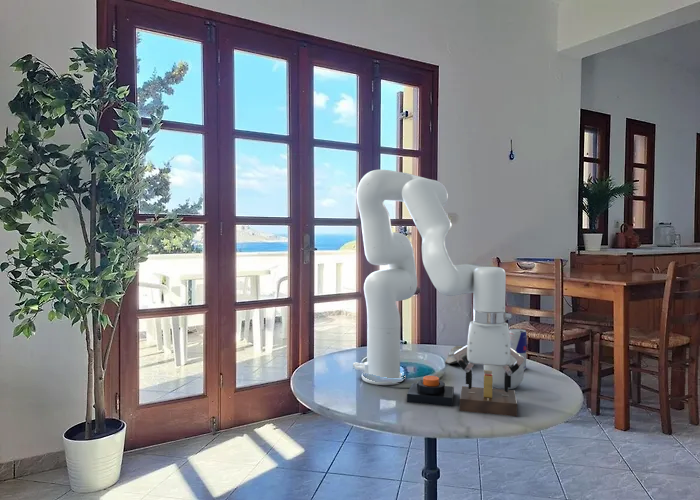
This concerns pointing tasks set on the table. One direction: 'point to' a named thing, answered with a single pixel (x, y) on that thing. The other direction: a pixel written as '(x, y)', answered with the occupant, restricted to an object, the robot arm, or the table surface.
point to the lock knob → (488, 383)
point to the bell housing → (431, 394)
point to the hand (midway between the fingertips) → (487, 388)
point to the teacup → (499, 374)
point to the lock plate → (488, 401)
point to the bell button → (431, 380)
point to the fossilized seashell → (452, 359)
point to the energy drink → (519, 342)
